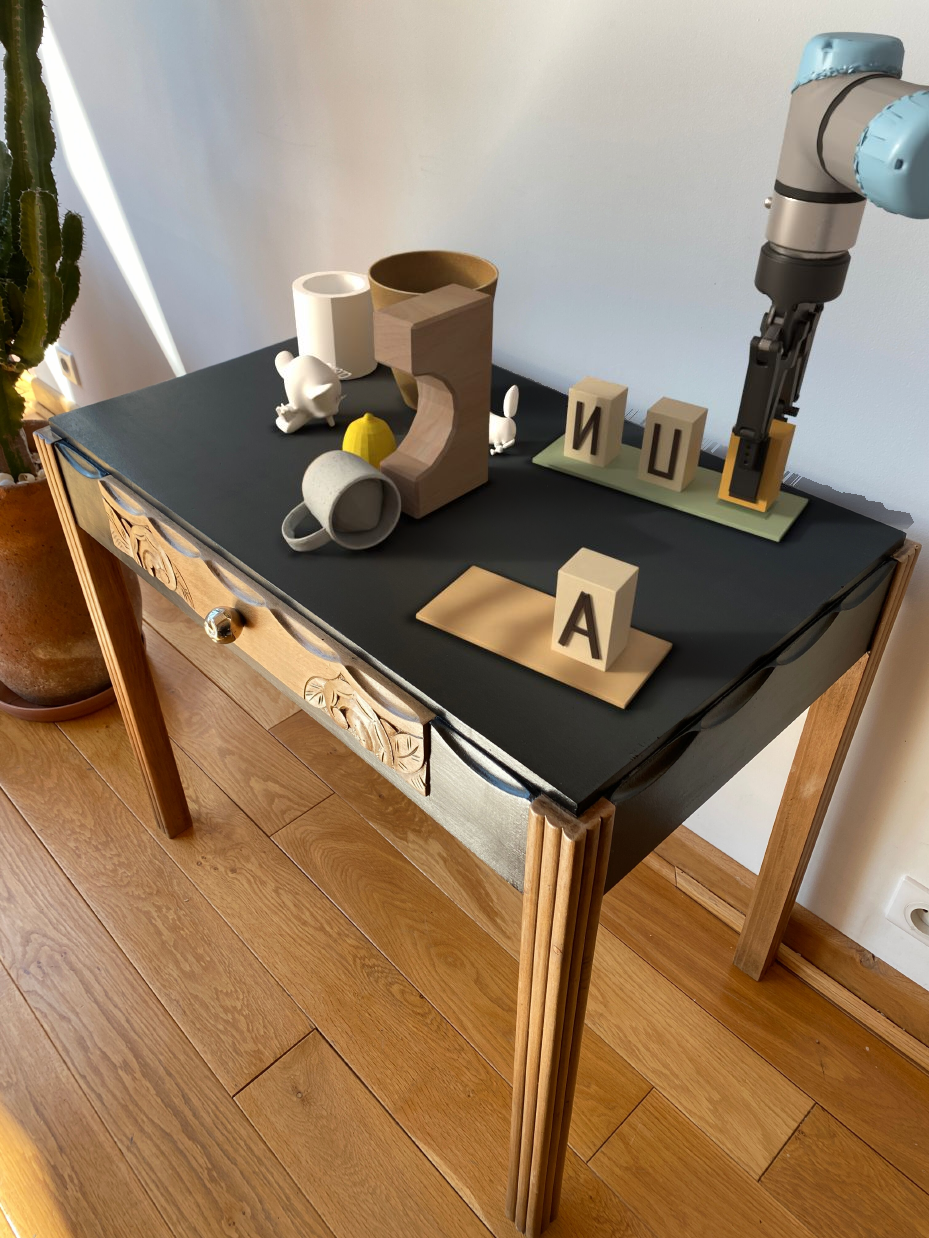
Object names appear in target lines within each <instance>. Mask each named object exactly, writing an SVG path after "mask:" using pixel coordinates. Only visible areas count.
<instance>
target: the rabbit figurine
mask: <svg viewBox="0 0 929 1238" xmlns="http://www.w3.org/2000/svg"><path fill="white" fill-rule="evenodd" d="M519 395H520V394H519V387H518V386H517V385H516V384H514V385H512V386H511V387H510V388H509V389H508V390H507V392H506V393H505V397H504V400H503V412H504V413H503V414H504V416H505V417H501V416H499V415H497V414H494V413H493V412H492V411H490V429H489V445H494V448H495V449H492V448H491V449H490V454H491V455H492V456H493V455H496V453H499V454H501V453H503V451H504V449H508V448H509V447H512V446H514V444H515V437H516V434H517V427H516V426H517V425H516V423H515V421H514V419H512V418H513V417H514V416H515V415H516V413H517V410H518V403H519Z"/></svg>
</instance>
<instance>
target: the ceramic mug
mask: <svg viewBox="0 0 929 1238" xmlns="http://www.w3.org/2000/svg"><path fill="white" fill-rule="evenodd" d="M301 491H302V497H303V501H302V502H301V503H300V504H298V505H297V506H296V507H294V508H293V509H292V510H291V511H290V512H289V513H288V514H287V515H286V517H285V518H284V519H283V522H282V526H281V533H282V536H283V537H284V539H285V541H286V543H287V544H288V545H289V546H290V547H291V548H292V549H293V550H294V551H297V552H312V551H314V550H317V549H318V548H321V547H322V546H324V545H326V544H328V543H329V542H331V541H334V542H335V543H336V544H338V545H339V546H341V547H343V548H345V549H348V550H355V551H357V550H366V549H369V548H372V547H375V546H377V545H379V544H380V543H381V542H383V541H384V540H386V538H387V537H388V536H389V535H390V534H391V533H392V532H393V531H394V529H395V528H396V526H397V524H398V521H399V519H400V516H401V512H402V511H401V497H400V493H399V491H398V488H397V487H396V485H395V484H394V483H393V481H392V480H390V479H389V478H388V477H386V476H385V475H384V474H382V473H381V472H380V471H378V470H377V469H376V468H374V467H373V466H372V465H370V464H369V463H368V462H366V461H365V460H364V459H362V458H361V457H360V456H358V455H356V454H353V453H351V452H347V451H343V449H337V450H330V451H327V452H324V453H322V454H320V455H318V456H317V457H316V458H315V459H314V460H313V461H311V463H310V464H309V465H308V467H307V468H306V470H305V472H304V475H303V477H302V482H301ZM311 514H312V515H313V517H314V518H315V519H316V520H317V521H318V522H319V523H320V525H321V527H322V528H320V530H317V531H316V532H314V533H312V534H310V535H307V536H304V537H300V538H295V532H294V530H295V529H296V527H297V526H298V525H299V524H300V523H301V522H302V521H303V520H304V519H306V517H308V516H309V515H311Z"/></svg>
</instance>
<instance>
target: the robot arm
mask: <svg viewBox="0 0 929 1238" xmlns="http://www.w3.org/2000/svg"><path fill="white" fill-rule="evenodd" d="M905 52H906V50H905V47H904V42H903V41H902V40H901V38H898V37H896V36H893V35H888V34H882V33H873V32H872V33H871V32H858V31H857V32H855V31H831V32H822V33H818V34H815V35H814V36H812V37H811V38H809V40H808V41H807V42H806V44H805V45H804V48H803V50H802V54H801V58H800V63H799V66H798V70H797V74H796V79H795V81H794V83H793V85H792V87H791V90H790V95H791V97H790V102H789V108H788V113H787V118H786V123H785V128H784V134H783V139H782V143H781V149H780V154H779V159H778V164H777V170H776V175H775V181H774V185H773V191H772V196H768V197H767V198H766V199H765V201H764V208H765V209H767V210H769V212H768V216H767V221H766V225H765V230H764V237H765V238H766V240H767V241H766V242H764V243H763V244H762V245H761V247H760V251H759V256H758V259H757V260H758V261H757V266H756V271H755V275H754V280H753V283H754V286H755V288H756V290H757V291H758V292H759V293H761V294H762V295H765V296H767V298H769V300H770V301H771V305H770V307H769V310H768V311H765V312H764V314H763V316H762V319H761V323H760V326H759V332H760V336H759V335H753V337H752V338H751V340H750V341H749V353H748V364H747V368H746V373H745V378H744V382H743V388H742V393H741V397H740V401H739V402H740V403H739V408H738V412H737V417H736V422H735V424H736V426H735V427H733V426H732V428H731V432H732V433H734V436H737V437H740V440H739V445H738V449H737V454H736V459H735V463H734V468H733V472H732V477H731V481H730V486H729V492H732V493H735V494H738V495H742V496H745V497H748V498H751V499H755V498H756V497H757V494H758V490H759V486H760V482H761V477H762V473H763V469H764V465H765V461H766V457H767V453H768V448H769V444H770V440H771V437H769V431H770V427H771V424H772V421H773V419H775V420H779V421H783V422H787V423H788V420H789V417H793V418H797V416H798V415H799V412H800V410H801V409H800V407H797V406H794V403H797V402H798V401H799V399H800V396H801V394H800V393H801V389H802V386H803V382H804V379H805V374H806V371H807V367H808V363H809V359H810V355H811V351H812V347H813V344H814V340H815V336H816V333H817V328H818V325H819V322H820V319H821V316H822V313H823V312H824V310H825V304H826V303H829V302H832V301H835V300H836V299H837V298H839V297H840V296H841V294H842V293H843V290H844V286H845V282H846V279H847V275H848V271H849V268H850V264H851V260H852V256H851V254H850V251H849V250H850V249H852V248H854V247H855V245H856V243H857V240H858V237H859V232H860V228H861V225H862V220H863V216H864V212H865V209H866V205H867V201H868V202H870V203H872V204H873V205H874V206H875V207H876V208H880V209H883V211H885V212H886V213H890V214H893V215H899V216H903V217H905V218H908V219H914V220H922V221H923V220H929V85H926V84H918V83H914V82H909V81H907V80H902V77H903V66H904V61H905V60H904V59H905V54H906V53H905ZM785 416H788V417H785Z"/></svg>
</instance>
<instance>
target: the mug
mask: <svg viewBox="0 0 929 1238" xmlns="http://www.w3.org/2000/svg"><path fill="white" fill-rule="evenodd" d="M291 285H292V294H293V295H292V296H293V305H294V314H295V315H294V316H295V324H296V325H295V326H296V334H297V335H296V336H297V345H298V354H299V355H298V356H302V355H311V356H314V357H316V358H318V359H319V360H321V361H322V362H324V363H325V364H326V363H330V364H331V365H332V366H331V365H329V366H331V367H334V366H336V367H334V368H337V369H343V370H342V371H341V372H339V371H340V370H336V369H334V368H332V369H333V370H335V371H334V372H335V373H336V375H339V376H340V377H345V376H348V375H349V374H347V373H351V375H350V376H348V377H345V378H338V379H339V381H347V380H348V381H349V380H353V379H357V378H358V379H359V378H361V377H364V376H366V375H369V374H371V373H372V372H374V371H375V370H376V369H377V366H378V362H377V361H376V360H375V348H374V324H373V313H374V312H375V310H374V305H373V300H372V296H371V290H370V285H369V280H368V275H367V274H363V273H359V272H354V271H347V270H323V271H318V272H311V273H308V274H303V275H301V276H300V277H298V278H296V279H295V280H294V281H293V282H292V284H291ZM327 365H328V364H327ZM343 371H346V372H347V373H345V374H342V373H344V372H343ZM337 372H339V373H337ZM340 374H342V375H340ZM339 376H337V377H339Z"/></svg>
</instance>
